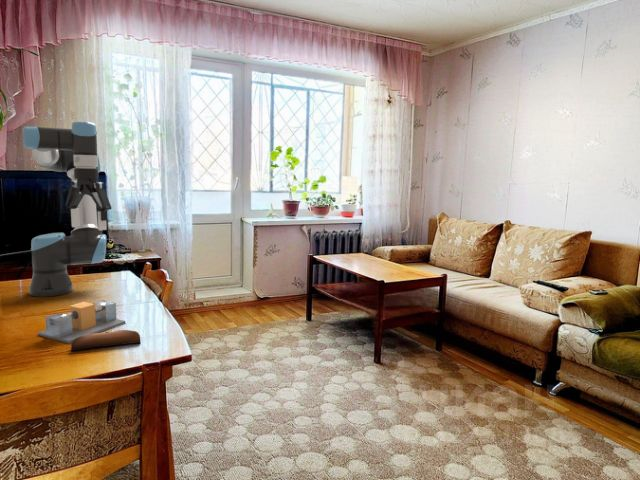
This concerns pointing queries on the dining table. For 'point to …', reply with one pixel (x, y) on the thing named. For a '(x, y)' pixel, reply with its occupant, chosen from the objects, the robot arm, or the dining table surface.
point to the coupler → (83, 315)
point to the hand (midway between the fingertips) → (89, 228)
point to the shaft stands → (62, 323)
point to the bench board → (86, 330)
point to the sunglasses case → (105, 339)
